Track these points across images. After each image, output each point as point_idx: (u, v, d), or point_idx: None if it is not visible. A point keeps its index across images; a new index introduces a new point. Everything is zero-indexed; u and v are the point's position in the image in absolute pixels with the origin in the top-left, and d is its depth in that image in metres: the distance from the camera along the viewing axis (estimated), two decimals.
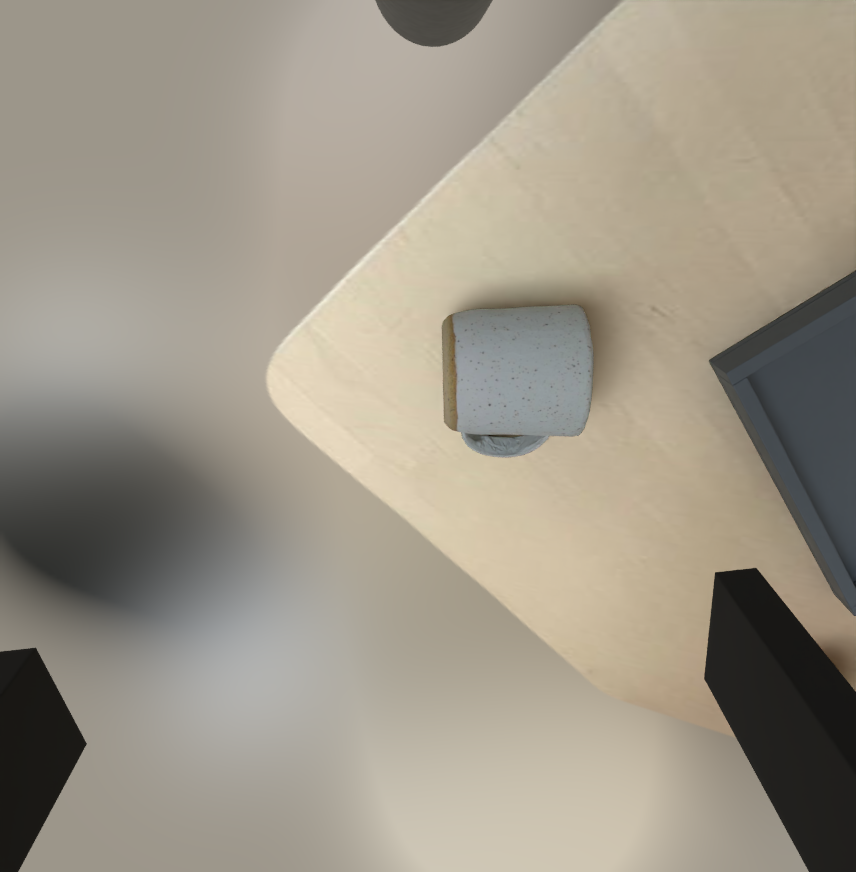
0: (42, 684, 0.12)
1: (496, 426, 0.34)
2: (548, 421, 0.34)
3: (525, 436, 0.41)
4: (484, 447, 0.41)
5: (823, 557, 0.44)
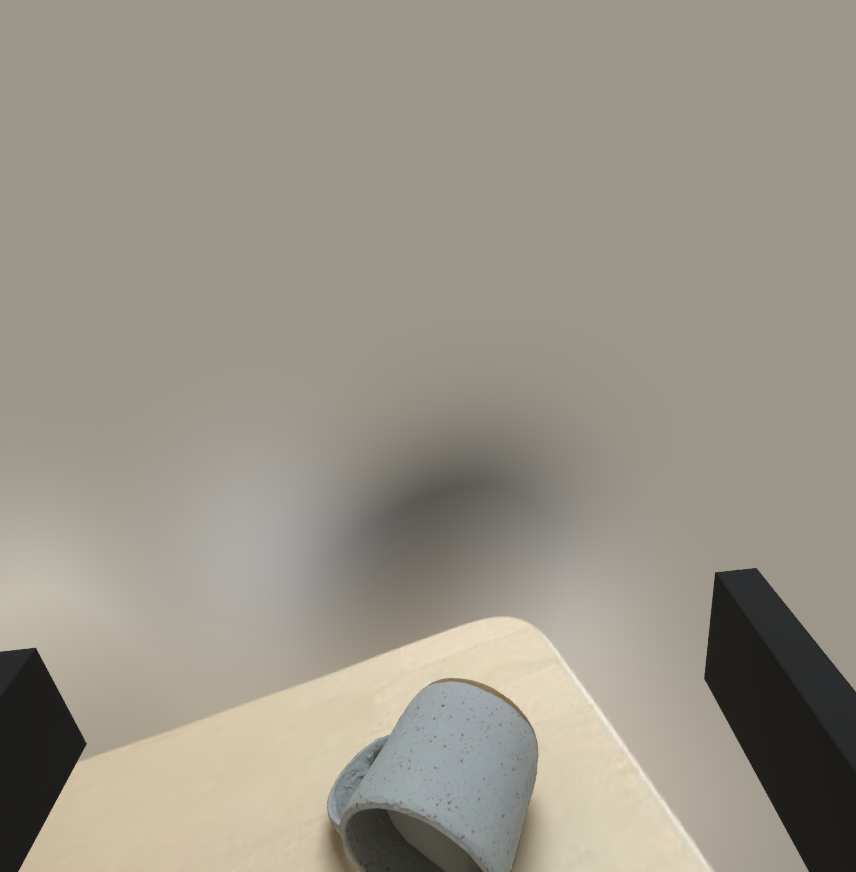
0: (41, 684, 0.12)
1: (410, 715, 0.30)
2: (391, 760, 0.27)
3: None
4: (361, 761, 0.34)
5: None
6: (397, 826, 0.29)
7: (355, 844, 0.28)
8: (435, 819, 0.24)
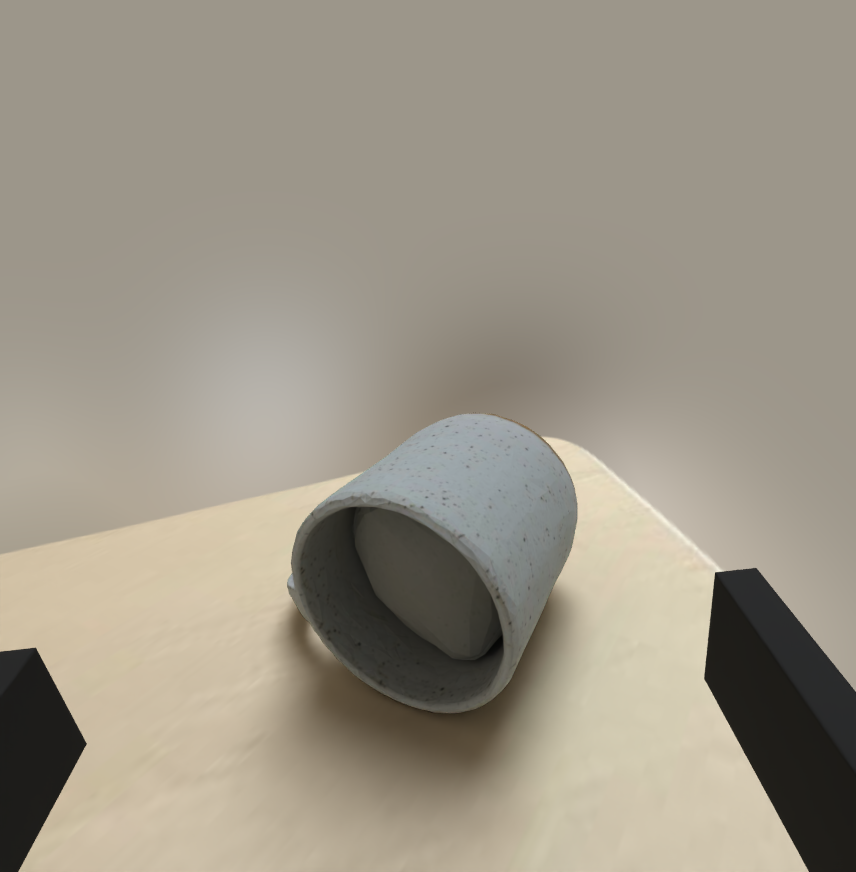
0: (42, 684, 0.12)
1: (402, 444, 0.22)
2: (368, 471, 0.19)
3: None
4: None
5: None
6: (374, 581, 0.20)
7: (314, 599, 0.20)
8: (421, 510, 0.16)
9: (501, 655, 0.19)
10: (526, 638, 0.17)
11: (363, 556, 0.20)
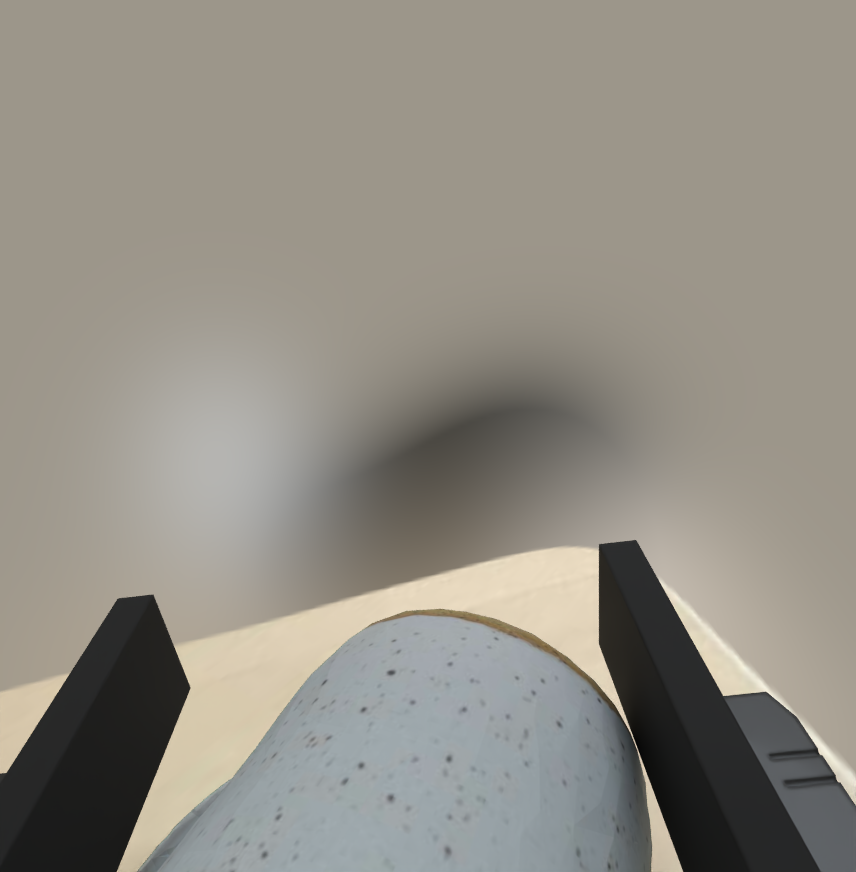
0: (159, 628, 0.13)
1: (301, 702, 0.11)
2: (209, 850, 0.08)
3: None
4: None
5: None
6: None
7: None
8: None
9: None
10: None
11: None
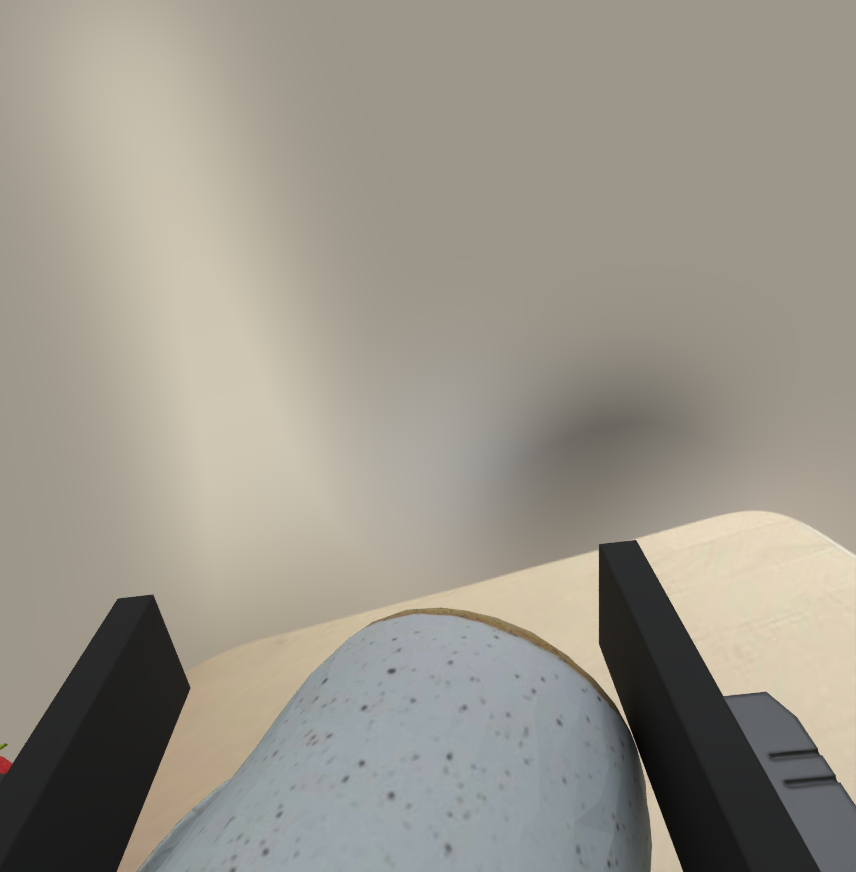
0: (158, 628, 0.13)
1: (302, 700, 0.11)
2: (210, 848, 0.08)
3: None
4: None
5: None
6: None
7: None
8: None
9: None
10: None
11: None
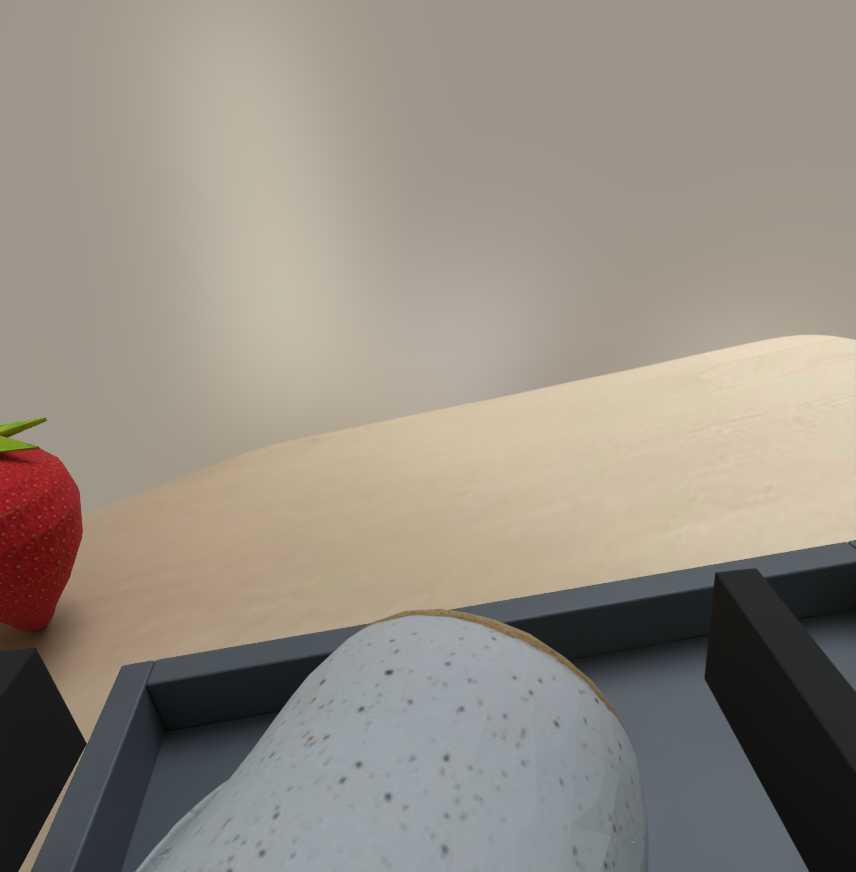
0: (42, 684, 0.12)
1: (299, 702, 0.11)
2: (207, 849, 0.08)
3: None
4: None
5: (341, 630, 0.19)
6: None
7: None
8: None
9: None
10: None
11: None
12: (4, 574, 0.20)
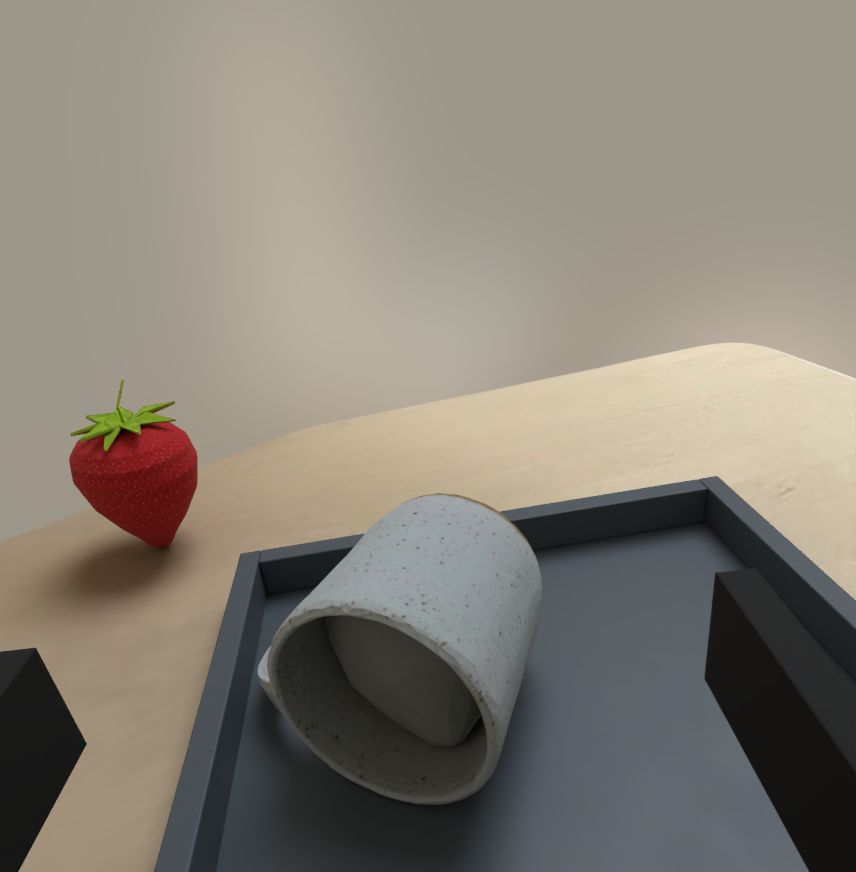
0: (42, 684, 0.12)
1: (370, 531, 0.22)
2: (342, 569, 0.19)
3: None
4: None
5: None
6: (350, 674, 0.21)
7: (291, 697, 0.20)
8: (403, 620, 0.16)
9: (480, 741, 0.20)
10: (506, 730, 0.18)
11: (338, 650, 0.20)
12: (158, 501, 0.32)
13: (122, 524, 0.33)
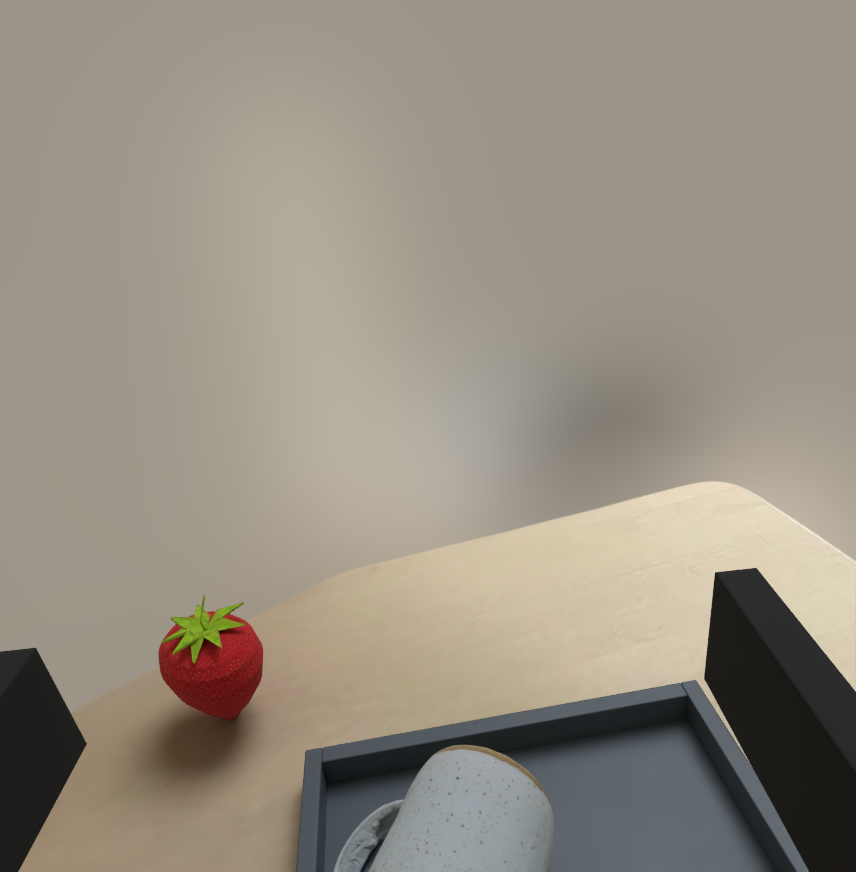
0: (42, 684, 0.12)
1: (422, 787, 0.29)
2: (406, 842, 0.26)
3: None
4: (366, 830, 0.33)
5: (416, 731, 0.37)
6: None
7: None
8: None
9: None
10: None
11: None
12: (234, 698, 0.38)
13: (202, 711, 0.40)
